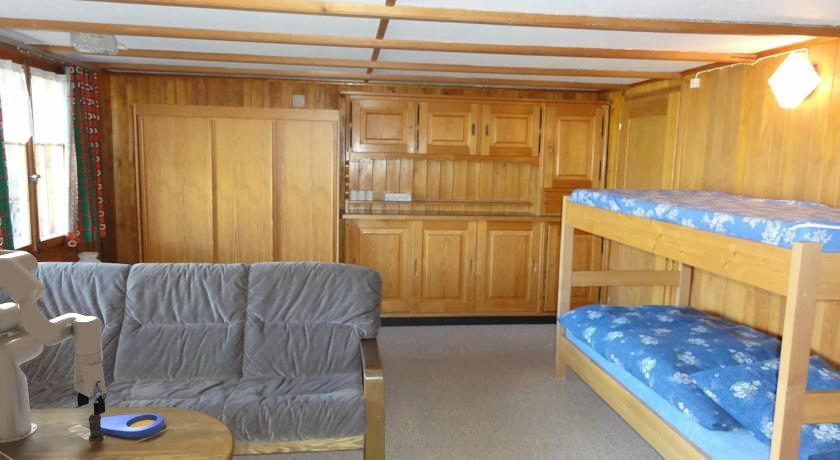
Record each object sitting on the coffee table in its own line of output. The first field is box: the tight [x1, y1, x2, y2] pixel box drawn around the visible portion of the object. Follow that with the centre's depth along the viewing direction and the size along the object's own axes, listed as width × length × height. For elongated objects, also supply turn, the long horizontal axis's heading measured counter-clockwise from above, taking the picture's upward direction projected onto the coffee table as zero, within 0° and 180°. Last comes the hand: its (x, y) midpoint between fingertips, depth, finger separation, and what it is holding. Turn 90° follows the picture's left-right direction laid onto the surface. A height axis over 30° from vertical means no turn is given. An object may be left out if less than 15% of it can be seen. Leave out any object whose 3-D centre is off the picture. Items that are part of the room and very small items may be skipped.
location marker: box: [88, 412, 166, 439], centre depth 194 cm, size 13×3×25 cm
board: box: [66, 424, 107, 444], centre depth 190 cm, size 17×5×1 cm, turn 56°
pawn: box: [88, 412, 104, 443], centre depth 186 cm, size 4×4×8 cm
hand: (91, 409), depth 185 cm, fingers open, 9 cm apart
